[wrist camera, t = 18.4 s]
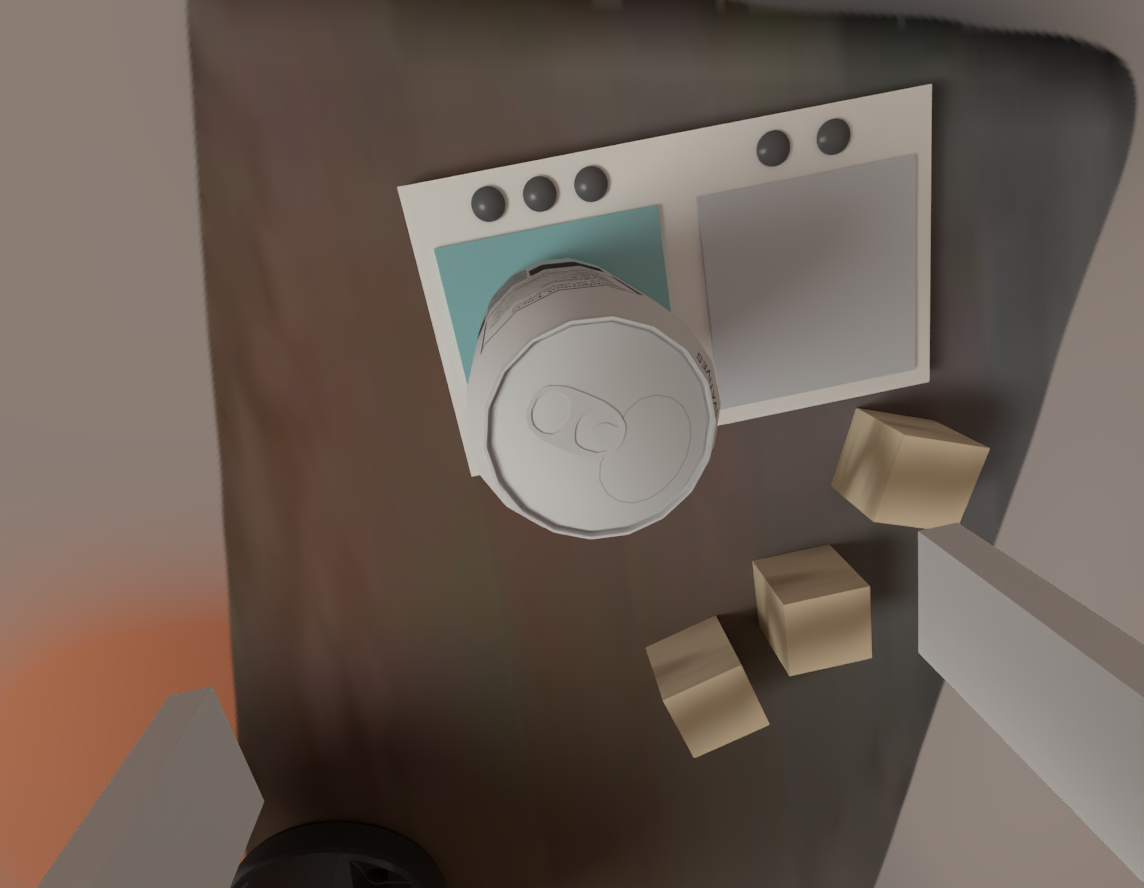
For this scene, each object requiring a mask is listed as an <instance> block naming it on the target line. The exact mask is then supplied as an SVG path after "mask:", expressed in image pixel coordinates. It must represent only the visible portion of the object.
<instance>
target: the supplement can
mask: <svg viewBox="0 0 1144 888" xmlns="http://www.w3.org/2000/svg"><path fill="white" fill-rule="evenodd" d="M720 407H721V402H720V397H719V392H718V387H717V382H716V377H715V372H714V367H713V362H712V361H711V359H710V358H709V356H708V354H707V353H706V351H705V350H704V348H703V347H702V345H701V343H700V342H699V340H698V339H697V337H696V336H695V334H694V333H693V331H692V329H691V328H690V326H689V325H688V324H686V323H685V322H683V321H682V320H681V319H679V318H678V317H676V316H675V315H674V314H672V313H671V312H670V311H668V310H667V309H665V308H664V307H663V306H661V305H660V304H658V303H657V302H656V301H654V300H653V299H651V298H650V297H648V296H646V295H645V294H643V293H642V292H640V291H638V290H637V289H635V288H633V287H632V286H630V285H628V284H627V283H625V282H624V281H622V280H620V279H619V278H617V277H615V276H614V275H612V274H610V273H609V272H607V271H605V270H604V269H602V268H601V267H599V266H597V265H594V264H590V263H586V262H582V261H579V260H575V259H571V258H562V259H552V260H543V261H538V262H536V263H534V264H532V265H530V266H528V267H526V268H524V269H522V270H520V271H518V272H516V273H514V274H512V275H511V276H510V277H509V278H508V279H507V280H506V281H505V283H504V284H503V285H502V286H501V287H500V288H499V289H498V290H497V291H496V292H495V293H494V294H493V295H492V297H491V300H490V302H489V304H488V307H487V309H486V312H485V314H484V317H483V319H482V321H481V324H480V329H479V334H478V339H477V343H476V348H475V353H474V358H473V362H472V367H471V372H470V377H469V381H468V386H467V394H466V427H465V435H466V438H467V441H468V443H469V446H470V449H471V452H472V455H473V458H474V460H475V463H476V466H477V469H478V472H479V475H480V476H481V477H482V478H483V479H484V480H485V482H486V483H487V484H488V485H489V486H490V488H491V489H492V490H493V491H494V492H495V493H496V495H497V496H498V497H499V498H500V499H501V501H502V502H503V503H504V504H505V505H506V506H507V507H508V508H510V509H512V510H514V511H515V512H517V513H519V514H521V515H522V516H524V517H526V518H528V519H529V520H531V521H533V522H535V523H536V524H538V525H540V526H542V527H545V528H546V529H548V530H550V531H552V532H554V533H559V534H564V535H570V536H575V537H580V538H585V539H598V538H606V537H613V536H621V535H629V534H631V533H633V532H635V531H637V530H639V529H641V528H644V527H646V526H648V525H650V524H652V523H654V522H656V521H659V520H661V519H663V518H664V517H665V516H666V515H667V514H669V513H670V512H671V511H672V510H673V509H674V508H675V507H676V506H677V505H678V504H679V503H680V502H681V501H683V500H684V499H685V498H686V497H687V496H688V495H689V494H690V493H691V492H692V490H693V489H694V487H695V485H696V483H697V481H698V480H699V478H700V476H701V474H702V472H703V470H704V469H705V467H706V465H707V463H708V461H709V459H710V456H711V451H712V449H713V447H714V444H715V438H716V431H717V425H718V419H719V413H720Z"/></svg>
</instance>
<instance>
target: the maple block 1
mask: <svg viewBox="0 0 1144 888" xmlns="http://www.w3.org/2000/svg"><path fill="white" fill-rule="evenodd" d="M646 650H647V654H648V657H649V660H650V663H651V666H652V669H653V672H654V675H655V678H656V681H657V685H658V688H659V691H660V694H661V697H662V700H663V702H664V704H665V706H666V708H667V709H668V711H669V713H670V715H671V717H672V719H673V720H674V722H675V724H676V726H677V728H678V730H679V732H680V733H681V735H682V737H683V739H684V741H685V743H686V744H687V746H688V748H689V750H690V752H691V754H692V755H693V757H694V758H696V757H699V756H701V755H703V754H705V753H708V752H710V751H712V750H714V749H717V748H719V747H721V746H723V745H725V744H728V743H730V742H732V741H734V740H737V739H739V738H741V737H743V736H746V735H748V734H750V733H752V732H755V731H757V730H759V729H761V728H764V727H766V726H768V725H770V724H769V722H768V720H767V718H766V716H765V714H764V711H763V709H762V707H761V705H760V703H759V701H758V699H757V697H756V695H755V692H754V690H753V688H752V686H751V684H750V682H749V680H748V678H747V676H746V673H745V671H744V669H743V667H742V665H741V663H740V661H739V659H738V657H737V655H736V653H735V651H734V650H733V648H732V646H731V644H730V642H729V640H728V638H727V636H726V634H725V632H724V630H723V628H722V627H721V625H720V623H719V621H718V619H717V617H716V615H715V616H713V617H711V618H709V619H707V620H704V621H702V622H700V623H698V624H696V625H694V626H691V627H689V628H687V629H685V630H683V631H680V632H678V633H676V634H674V635H672V636H670V637H667V638H665V639H663V640H661V641H659V642H657V643H654V644H652V645H650V646H648V647H646Z"/></svg>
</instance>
